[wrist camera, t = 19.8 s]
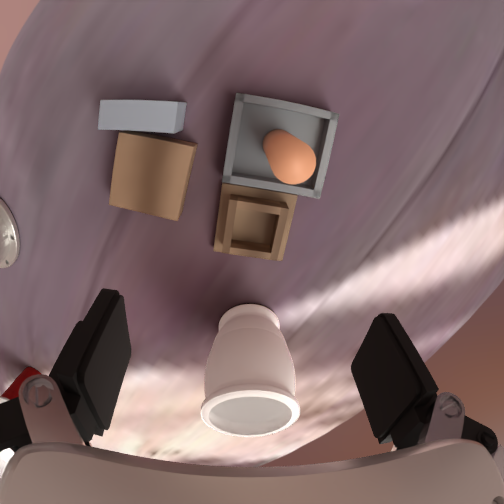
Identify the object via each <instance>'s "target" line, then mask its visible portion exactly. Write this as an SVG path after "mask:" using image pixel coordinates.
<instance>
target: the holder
mask: <svg viewBox="0 0 504 504" xmlns="http://www.w3.org/2000/svg"><path fill="white" fill-rule="evenodd" d="M297 196H298V195H297V194H291V193H286V192H280V191H274V190H268V189H262V188H256V187H250V186H243V185H237V184H230V183H222V190H221V197H220V204H219V212H218V219H217V227H216V235H215V243H214V251H217V252H222V253H227V254H234V255H241V256H248V257H255V258H262V259H269V260H276V261H277V260H280V261H282V259H283V255H284V251H285V247H286V243H287V238H288V234H289V230H290V226H291V222H292V218H293V213H294V209H295V205H296V200H297Z"/></svg>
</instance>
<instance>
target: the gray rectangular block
mask: <svg viewBox="0 0 504 504" xmlns="http://www.w3.org/2000/svg"><path fill="white" fill-rule="evenodd" d="M186 104H187V103H186V102H173V101H155V100H100V110H99V121H98V130H131V131H149V132H163V133H176V132H179V131H182V130H183V125H184V118H185V111H186Z"/></svg>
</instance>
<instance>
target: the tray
mask: <svg viewBox="0 0 504 504" xmlns="http://www.w3.org/2000/svg"><path fill="white" fill-rule="evenodd" d="M338 118H339V114H338V113H334V112H330V111H326V110H322V109H318V108H314V107H310V106H306V105H301V104H297V103H292V102H287V101H282V100H277V99H272V98H266V97H261V96H254V95H248V94H241V93H236V98H235V103H234V109H233V115H232V121H231V127H230V133H229V139H228V146H227V152H226V159H225V165H224V172H223V179H222V182H223V183H230V184H237V185H243V186H250V187H256V188H262V189H268V190H274V191H280V192H286V193H291V194H297V195H302V196H308V197H313V198H318V199H320V195H321V191H322V187H323V183H324V179H325V175H326V171H327V167H328V163H329V158H330V154H331V150H332V145H333V141H334V136H335V132H336V127H337V123H338ZM275 129H281V130H285V131H287V132H288V133H290V134H292V135H293V136H295V137H296V138H298V139H300V140H301V141H303V142H304V143H306V144H307V145H309V146H310V147H311V149H312V150H313V152H314V154H315V157H316V167H315V170H314V172H313V174H312V175H311V176H310V178H308V179H307V180H306V181H304V182H302V183H299V184H287V183H284V182H282V181H280V180H279V179H278V178H277V177H276V176H275V175H274V173H273V171H272V169H271V167H270V164H269V162H268V159H267V157H266V154H265V152H264V150H263V139H264V137H265V135H266V134H267V133H268V132H270V131H272V130H275Z"/></svg>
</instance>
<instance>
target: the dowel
mask: <svg viewBox="0 0 504 504" xmlns="http://www.w3.org/2000/svg"><path fill="white" fill-rule="evenodd" d="M263 150H264V152H265V154H266V157H267V159H268V162H269V164H270V167H271V169H272V171H273V173H274V175H275V176H276V177H277V178H278V179H279V180H280V181H282V182H284V183H287V184H299V183H302V182H304V181H306V180H307V179H308V178H310V176H311V175H312V174H313V172H314V170H315V167H316V157H315V154H314V152H313V150H312V149H311V147H310V146H309V145H307V144H306V143H304V142H303V141H301V140H300V139H298V138H296V137H295V136H293V135H292V134H290V133H288V132H287V131H285V130H281V129H275V130H272V131H270V132H268V133H267V134H266V135H265V137H264V139H263Z"/></svg>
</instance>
